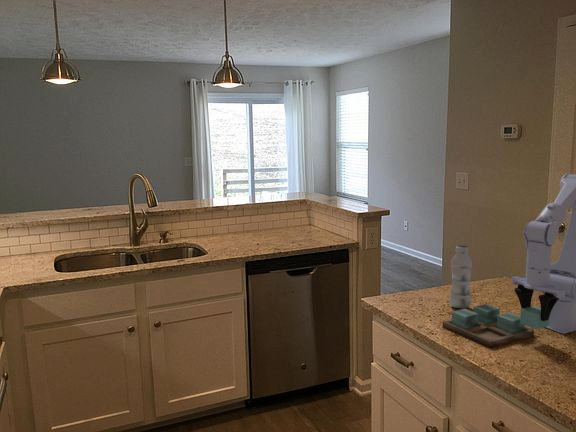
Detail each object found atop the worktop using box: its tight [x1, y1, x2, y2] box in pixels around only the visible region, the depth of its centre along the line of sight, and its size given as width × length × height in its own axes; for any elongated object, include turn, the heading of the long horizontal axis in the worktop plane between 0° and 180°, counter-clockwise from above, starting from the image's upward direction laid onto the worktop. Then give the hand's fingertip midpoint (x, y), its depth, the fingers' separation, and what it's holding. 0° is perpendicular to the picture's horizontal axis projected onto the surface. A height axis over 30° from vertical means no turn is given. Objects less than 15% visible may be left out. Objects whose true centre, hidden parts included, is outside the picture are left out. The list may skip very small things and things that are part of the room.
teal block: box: [519, 305, 550, 330], centre depth 136 cm, size 5×5×4 cm
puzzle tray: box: [442, 303, 535, 349], centre depth 144 cm, size 17×17×5 cm
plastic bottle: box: [448, 244, 473, 310], centre depth 163 cm, size 6×7×20 cm
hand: (535, 316), depth 136 cm, fingers closed on teal block, 5 cm apart
